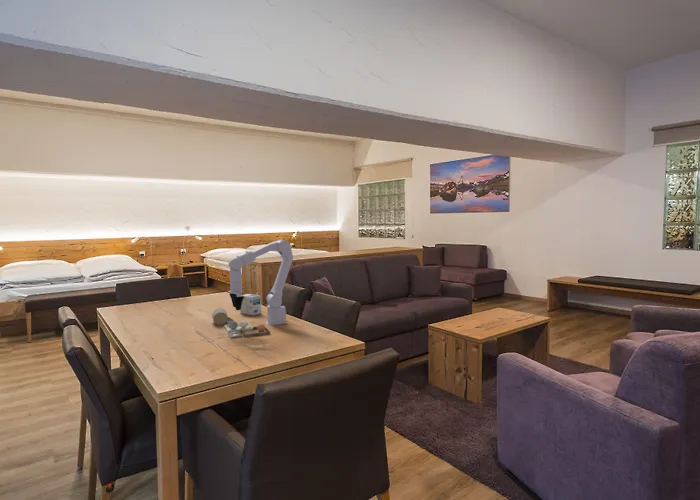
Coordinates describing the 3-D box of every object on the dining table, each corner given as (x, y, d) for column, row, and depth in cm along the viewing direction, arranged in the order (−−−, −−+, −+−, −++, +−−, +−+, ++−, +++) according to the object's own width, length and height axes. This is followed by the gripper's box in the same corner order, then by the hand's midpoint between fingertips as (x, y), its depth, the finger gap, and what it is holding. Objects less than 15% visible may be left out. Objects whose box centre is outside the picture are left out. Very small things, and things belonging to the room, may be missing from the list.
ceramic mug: (213, 326, 211) (213, 312, 210) (212, 322, 218) (212, 308, 218) (234, 325, 215) (234, 310, 214) (232, 321, 222) (232, 307, 222)
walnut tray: (264, 328, 206) (264, 325, 206) (270, 335, 195) (270, 331, 195) (240, 331, 201) (240, 328, 201) (244, 338, 190) (244, 334, 190)
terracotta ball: (264, 330, 202) (264, 322, 202) (266, 332, 199) (266, 324, 198) (256, 331, 201) (255, 323, 200) (257, 333, 197) (257, 325, 197)
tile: (239, 333, 198) (239, 331, 198) (241, 338, 191) (241, 335, 191) (228, 334, 196) (228, 332, 196) (230, 339, 189) (230, 336, 189)
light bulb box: (261, 313, 239) (261, 295, 238) (253, 315, 233) (252, 297, 232) (248, 311, 245) (248, 293, 244) (239, 313, 239) (239, 295, 238)
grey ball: (236, 327, 207) (236, 320, 206) (238, 329, 203) (237, 321, 203) (228, 328, 205) (228, 320, 205) (229, 330, 201) (229, 322, 201)
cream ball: (247, 326, 209) (246, 318, 208) (248, 328, 205) (248, 320, 205) (239, 327, 207) (238, 319, 207) (240, 329, 203) (240, 321, 203)
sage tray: (248, 325, 213) (248, 322, 213) (253, 331, 202) (253, 327, 202) (224, 328, 208) (224, 324, 208) (228, 334, 197) (227, 330, 197)
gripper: (225, 280, 212) (226, 306, 213) (230, 284, 199) (231, 312, 200) (239, 279, 215) (240, 305, 216) (245, 283, 202) (245, 310, 203)
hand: (236, 308), depth 208 cm, fingers open, 7 cm apart
